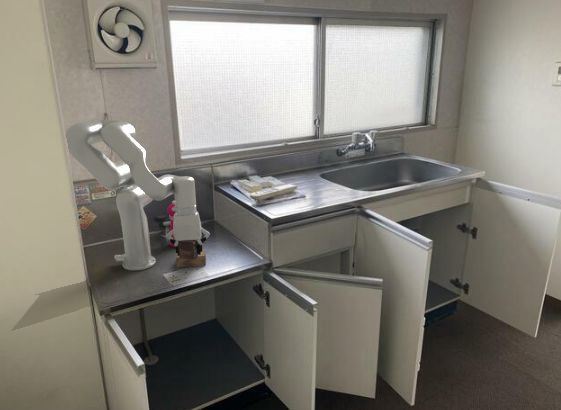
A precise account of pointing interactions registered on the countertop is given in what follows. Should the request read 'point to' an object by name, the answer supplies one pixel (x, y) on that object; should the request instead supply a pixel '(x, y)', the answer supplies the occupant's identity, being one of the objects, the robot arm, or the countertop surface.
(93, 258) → the countertop surface
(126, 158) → the robot arm
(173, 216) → the pepper mill
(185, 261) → the light brown rectangular block
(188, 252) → the box
